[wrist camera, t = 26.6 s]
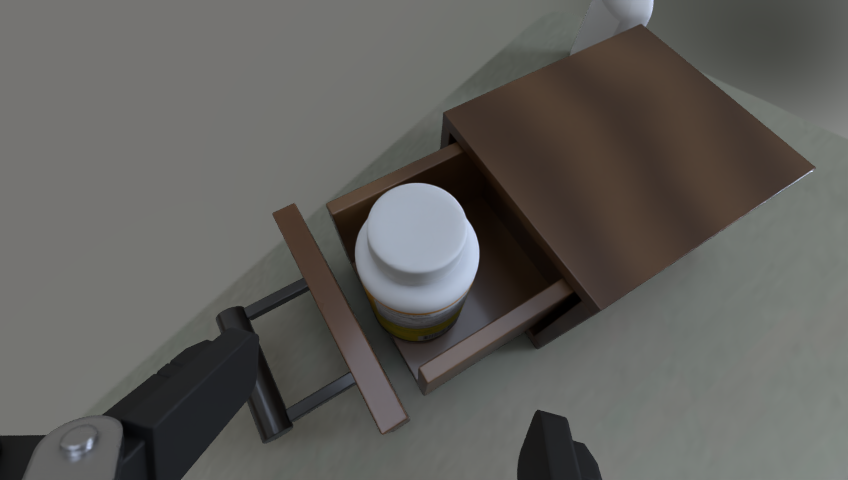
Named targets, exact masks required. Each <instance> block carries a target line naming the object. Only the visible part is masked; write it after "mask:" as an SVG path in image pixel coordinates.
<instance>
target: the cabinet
mask: <svg viewBox="0 0 848 480" xmlns="http://www.w3.org/2000/svg"><path fill="white" fill-rule="evenodd" d="M455 142H458V143H459V144H460V145H461V147H462V148H463V149H464V151H465V152H466V153H467V154H468V156H469V157H470V158H471V159H472V161H473V162H474V163H475V165H476V166H477V167H478V168H479V170H480V171H481V172H482V173H483V175H484V176H485V177H486V179H487V180H488V181H489V182H490V184H491V185H492V186H493V188H494V189H495V190H496V191H497V193H498V194H499V195H500V196H501V198H502V199H503V200H504V202H505V203H506V204H507V205H508V207H509V208H510V209H511V210H512V212H513V213H514V214H515V216H516V217H517V218H518V219H519V221H520V222H521V223H522V224H523V226H524V227H525V228H526V230H527V231H528V232H529V233H530V235H531V236H532V237H533V238H534V240H535V241H536V242H537V244H538V245H539V246H540V247H541V249H542V250H543V251H544V252H545V254H546V255H547V256H548V258H549V259H550V260H551V261H552V263H553V264H554V265H555V267H556V268H557V269H558V270H559V272H560V273H561V274H562V275H563V277H564V278H565V279H566V281H567V282H568V283H569V284H570V286H571V287H572V288H573V289H574V291H575V292H576V293H577V295H578V297H576V298H575V299H574V300H573V301H571V302H570V303H569V304H567V305H565V306H564V307H562V308H561V309H559V310H558V311H556V312H555V313H553V314H551V315H550V316H548V317H547V318H545V319H544V320H542V321H540V322H539V323H537V324H536V325H534V326H533V327H531V328H530V329H528V330H526V331H525V333H526V334H527V336H528V337H529V338H530V340H531V341H532V343H533V344H534V346H535V347H536V348H537V349H539V348H541V347H543V346H544V345H546V344H548V343H549V342H551V341H553V340H554V339H556V338H557V337H559V336H561V335H562V334H564V333H566V332H567V331H569V330H571V329H572V328H574V327H575V326H577V325H579V324H580V323H582V322H584V321H585V320H587V319H589V318H590V317H592V316H593V315H595V314H597V313H598V312H600V311H602V310H603V309H605V308H606V307H608V306H609V305H611V304H612V303H614V302H615V301H617V300H618V299H620V298H621V297H623V296H624V295H626V294H627V293H629V292H630V291H632V290H633V289H635V288H636V287H638V286H639V285H641V284H642V283H644V282H645V281H647V280H648V279H650V278H651V277H653V276H655V275H656V274H658V273H659V272H661V271H662V270H664V269H665V268H667V267H668V266H670V265H671V264H673V263H674V262H676V261H677V260H679V259H680V258H682V257H683V256H685V255H686V254H688V253H689V252H691V251H692V250H694V249H695V248H697V247H698V246H700V245H701V244H703V243H704V242H706V241H707V240H709V239H710V238H712V237H713V236H715V235H716V234H718V233H719V232H721V231H722V230H724V229H725V228H727V227H728V226H730V225H731V224H733V223H734V222H736V221H737V220H739V219H741V218H742V217H744V216H745V215H747V214H748V213H750V212H751V211H753V210H754V209H756V208H757V207H759V206H760V205H762V204H763V203H765V202H766V201H768V200H769V199H771V198H772V197H774V196H775V195H777V194H778V193H780V192H781V191H783V190H784V189H786V188H787V187H789V186H790V185H792V184H793V183H795V182H796V181H798V180H799V179H801V178H802V177H804V176H805V175H807V174H808V173H810V172H811V171H813V170H814V169H816V167H815V166H813V165H812V164H811V163H810V162H809V161H807V160H806V159H805V158H804V157H803V156H801V155H800V154H799V153H798V152H796V151H795V150H794V149H793V148H792V147H790V146H789V145H788V144H787V143H786V142H784V141H783V140H782V139H781V138H779V137H778V136H777V135H776V134H775V133H773V132H772V131H771V130H770V129H769V128H767V127H766V126H765V125H764V124H762V123H761V122H760V121H759V120H758V119H756V118H755V117H754V116H753V115H752V114H750V113H749V112H748V111H747V110H745V109H744V108H743V107H742V106H741V105H739V104H738V103H737V102H736V101H735V100H733V99H732V98H731V97H730V96H728V95H727V94H726V93H725V92H724V91H722V90H721V89H720V88H719V87H718V86H716V85H715V84H714V83H713V82H711V81H710V80H709V79H708V78H707V77H705V76H704V75H703V74H702V73H701V72H699V71H698V70H697V69H696V68H694V67H693V66H692V65H691V64H690V63H688V62H687V61H686V60H685V59H684V58H682V57H681V56H680V55H679V54H677V53H676V52H675V51H674V50H673V49H671V48H670V47H669V46H668V45H667V44H665V43H664V42H663V41H662V40H660V39H659V38H658V37H657V36H656V35H654V34H653V33H652V32H651V31H649V30H648V29H647V28H646V27H645V26H643V25H642V24H639V25H637V26H635V27H633V28H630V29H628V30H626V31H624V32H621V33H619V34H617V35H615V36H612V37H610V38H608V39H606V40H604V41H601V42H599V43H597V44H595V45H592V46H590V47H588V48H586V49H584V50H581V51H579V52H577V53H575V54H572V55H570V56H568V57H566V58H563V59H561V60H559V61H557V62H555V63H552V64H550V65H548V66H546V67H543V68H541V69H539V70H537V71H535V72H532V73H530V74H528V75H526V76H523V77H521V78H519V79H517V80H514V81H512V82H510V83H508V84H506V85H503V86H501V87H499V88H497V89H494V90H492V91H490V92H488V93H486V94H483V95H481V96H479V97H477V98H474V99H472V100H470V101H468V102H465V103H463V104H461V105H459V106H457V107H454V108H452V109H450V110H448V111H445V112H444V113H443V124H442V134H441V145H440V150H441V149H443V148H445V147H447V146H449V145H451V144H453V143H455Z"/></svg>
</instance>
